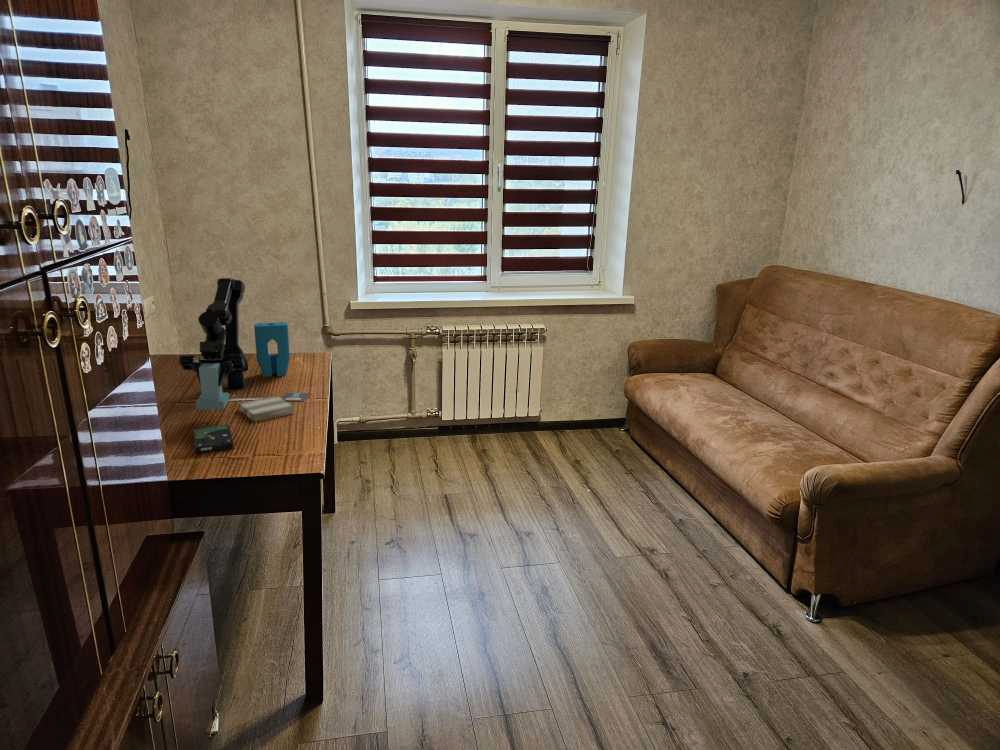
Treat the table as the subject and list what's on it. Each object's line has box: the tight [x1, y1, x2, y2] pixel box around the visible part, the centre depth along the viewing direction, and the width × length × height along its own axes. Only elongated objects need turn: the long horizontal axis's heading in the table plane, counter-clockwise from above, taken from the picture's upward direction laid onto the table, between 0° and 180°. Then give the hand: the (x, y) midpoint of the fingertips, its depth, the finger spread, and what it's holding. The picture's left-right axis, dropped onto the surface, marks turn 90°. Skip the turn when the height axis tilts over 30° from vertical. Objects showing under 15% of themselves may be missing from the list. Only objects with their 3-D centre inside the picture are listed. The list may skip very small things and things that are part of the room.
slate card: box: [281, 392, 310, 403], centre depth 234 cm, size 8×8×1 cm
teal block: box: [195, 363, 230, 410], centre depth 208 cm, size 8×8×13 cm
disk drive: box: [192, 424, 235, 455], centre depth 196 cm, size 10×3×15 cm
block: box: [253, 321, 291, 378], centre depth 255 cm, size 12×5×20 cm, turn 109°
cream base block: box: [238, 395, 294, 423], centre depth 220 cm, size 13×13×3 cm
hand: (210, 386), depth 207 cm, fingers closed on teal block, 5 cm apart
